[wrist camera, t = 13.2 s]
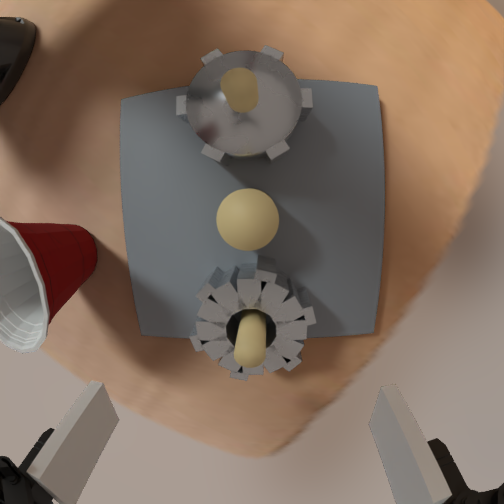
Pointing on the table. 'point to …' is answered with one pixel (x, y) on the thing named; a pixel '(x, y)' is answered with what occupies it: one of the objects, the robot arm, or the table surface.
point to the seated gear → (249, 123)
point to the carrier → (255, 211)
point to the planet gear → (252, 297)
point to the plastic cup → (39, 277)
